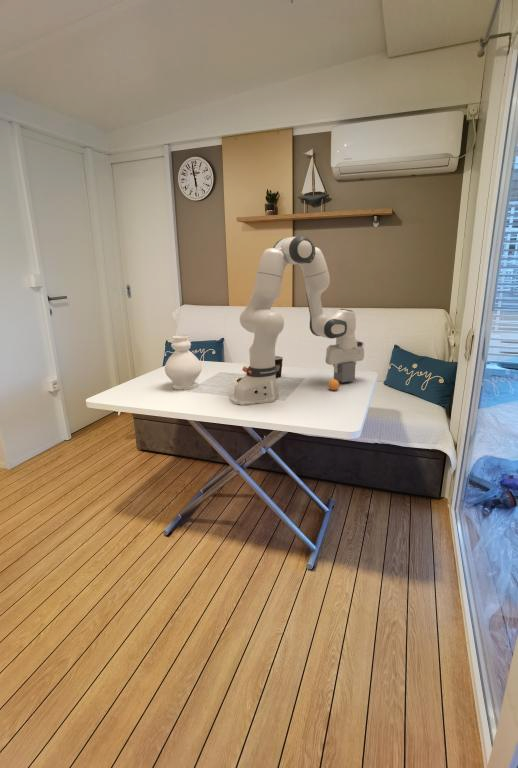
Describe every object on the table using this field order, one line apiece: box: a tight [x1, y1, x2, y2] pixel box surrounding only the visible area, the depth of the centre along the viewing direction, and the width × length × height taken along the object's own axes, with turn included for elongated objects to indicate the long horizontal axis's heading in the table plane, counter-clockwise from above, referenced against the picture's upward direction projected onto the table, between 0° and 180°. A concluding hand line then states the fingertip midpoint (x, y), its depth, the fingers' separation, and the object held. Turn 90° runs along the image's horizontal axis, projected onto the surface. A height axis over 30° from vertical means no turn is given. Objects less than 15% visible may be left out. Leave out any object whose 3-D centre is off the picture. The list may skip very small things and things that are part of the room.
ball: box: [327, 378, 340, 391], centre depth 188 cm, size 5×5×5 cm
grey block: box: [333, 362, 356, 383], centre depth 199 cm, size 7×7×9 cm
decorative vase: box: [164, 334, 203, 390], centre depth 200 cm, size 18×18×25 cm
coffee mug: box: [275, 355, 284, 379], centre depth 214 cm, size 12×9×10 cm
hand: (344, 371), depth 199 cm, fingers closed on grey block, 7 cm apart
